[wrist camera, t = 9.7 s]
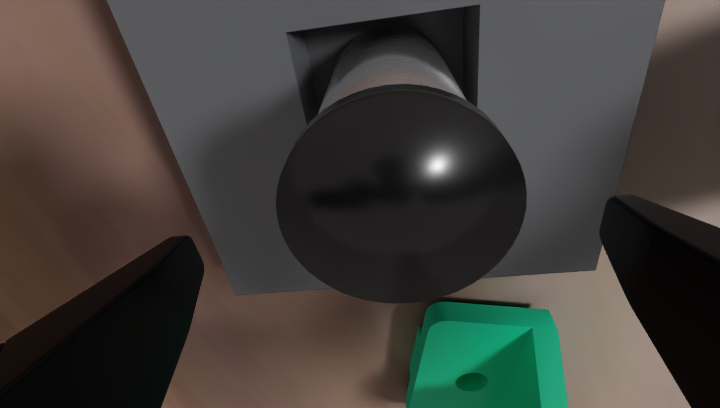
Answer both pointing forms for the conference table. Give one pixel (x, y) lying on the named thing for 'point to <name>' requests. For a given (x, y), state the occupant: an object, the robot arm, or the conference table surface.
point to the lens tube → (399, 177)
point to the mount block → (467, 65)
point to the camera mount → (486, 359)
